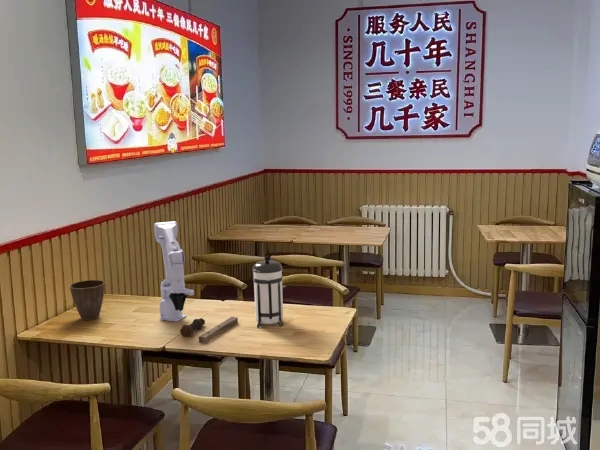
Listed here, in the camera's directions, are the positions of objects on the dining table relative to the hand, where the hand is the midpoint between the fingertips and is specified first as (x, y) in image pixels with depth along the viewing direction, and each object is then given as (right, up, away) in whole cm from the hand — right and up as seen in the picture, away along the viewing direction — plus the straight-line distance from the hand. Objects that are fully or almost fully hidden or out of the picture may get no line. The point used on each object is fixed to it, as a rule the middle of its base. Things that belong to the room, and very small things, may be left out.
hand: (179, 310), depth 248 cm
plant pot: (-45, -7, +20) cm, 50 cm away
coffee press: (+39, -7, +4) cm, 39 cm away
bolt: (+7, -9, -2) cm, 12 cm away
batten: (+18, -9, -4) cm, 20 cm away
